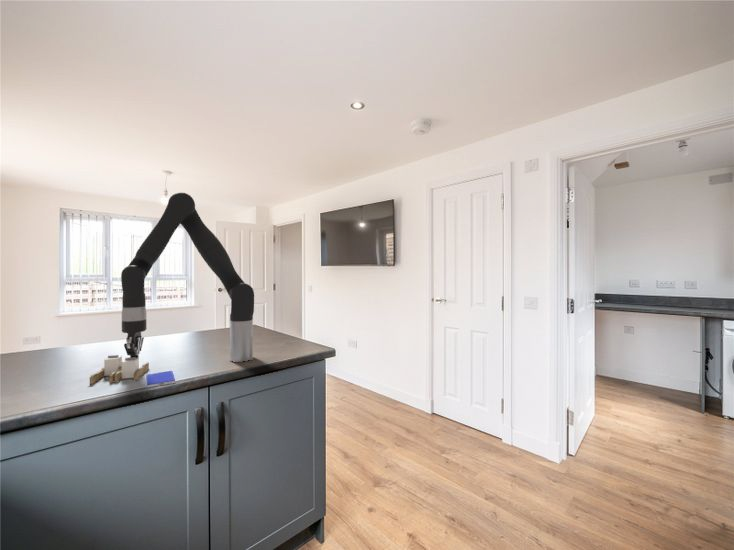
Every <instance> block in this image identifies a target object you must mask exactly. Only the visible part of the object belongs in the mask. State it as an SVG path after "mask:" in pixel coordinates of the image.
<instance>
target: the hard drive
mask: <svg viewBox="0 0 734 550" xmlns="http://www.w3.org/2000/svg"><path fill="white" fill-rule="evenodd" d="M145 377H146V380H145V382H146V388H153V386H154V387H159V386H163V385H164V386H165V385H171V384H176V378H175V376H174V372H173V370H169V371H168V370H167V371H162V372H161V371H160V372H155V373H154V372H153V373H148V374H146V376H145Z"/></svg>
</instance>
